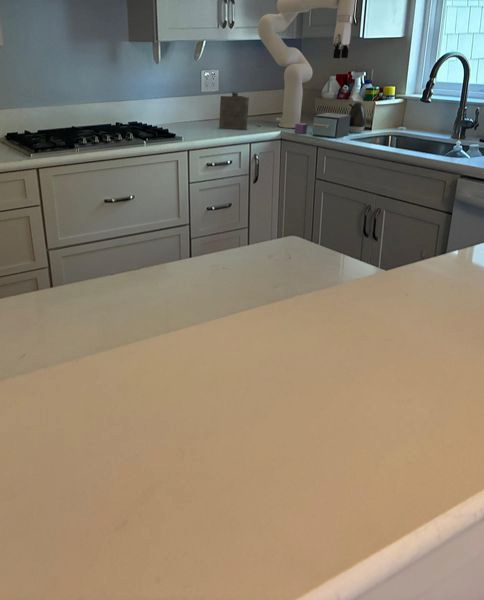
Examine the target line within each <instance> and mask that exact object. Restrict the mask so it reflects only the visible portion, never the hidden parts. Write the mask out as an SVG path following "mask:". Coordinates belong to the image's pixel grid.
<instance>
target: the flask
mask: <svg viewBox="0 0 484 600" xmlns="http://www.w3.org/2000/svg"><path fill="white" fill-rule="evenodd" d="M238 94H239V91H231V95H220V100H219V101H220V102H219V121H218V122H219V123H218V128H219V129H221V130H222V129H224V130H225V129H226V130H239V131H241V130H242V131H247V130H248V119H249V104H250V97H249V96H243V95H238Z"/></svg>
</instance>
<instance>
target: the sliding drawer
mask: <svg viewBox="0 0 484 600" xmlns="http://www.w3.org/2000/svg"><path fill="white" fill-rule="evenodd" d="M336 123H337V119H329V118H320V117H319V118H316V117H315V118H314V117H313V125H312V135H313V134H317V135H325V136H333V137H334V136H335V132H336Z"/></svg>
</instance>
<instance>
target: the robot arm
mask: <svg viewBox="0 0 484 600" xmlns="http://www.w3.org/2000/svg"><path fill="white" fill-rule="evenodd" d="M355 3H356V0H277V2H276V8H277V11H278V14H277V13H267V14H264V15H262V16H261V17H260V19H259V21H258V24H257V34H258V37H259V40H260V41H261V42H262V44H263V45H264V46H265V48H266V49H267V50H268V52H269V54H270V55H271V56H272V58H273V59H274V60H275V62H276V64H277V65H278V66H280V67H282V68H285V70H284V74H283V80H284V81H283V82H284V94H283V103H282V105H283V106H282V116H281V117H276V118H275V122H279V123H278V127H280V128H285V129H295V124H297V123H301V116H302V105H303V93H304V88H303V83H307V82H309V81H310V80H311V79H312V77H313V73H314V71H313V68H312V65H311V64H310V63H309V61H308V60H307V59H306V57H305V56H304V54H303V53H302V52H301V51H300V49H298V48H296V47H292V46H288V45H287V44H286V43H285V42H284V41H283V38H281V36H279V35H278V34H277V33H282V32H284V31H285V30H286V29H287V28H288V27H289V26H290V24H291V23H292V22H293V21H294V20H295V19H296V17H297V16H298V14H300V13H307V12H309V11H310V10H313V9H323V8H325V9H337V15H336V23H335V28H334V34H333V59H348V57H349V50H350V43H351V36H352V35H351V34H352V24H353V21H354V10H355ZM341 47H342V49H341Z"/></svg>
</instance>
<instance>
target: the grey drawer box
mask: <svg viewBox="0 0 484 600" xmlns="http://www.w3.org/2000/svg"><path fill="white" fill-rule="evenodd" d="M315 117H316V118H319V117H320V118H329V119H337V123H336V132H335V136H334V137H333V136H325V135H317V134H312V136H314V137H315V136H316V137H322V138H323V137H324V138H330V139H331V138H332V139H338V138H343V137H346V136H349V133H350V132H349V124H350V117H351V115H348V114H342V113H335V112H334V113H333V112H324V113H318V114H315V115H314V116H313V119H314V118H315Z"/></svg>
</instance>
